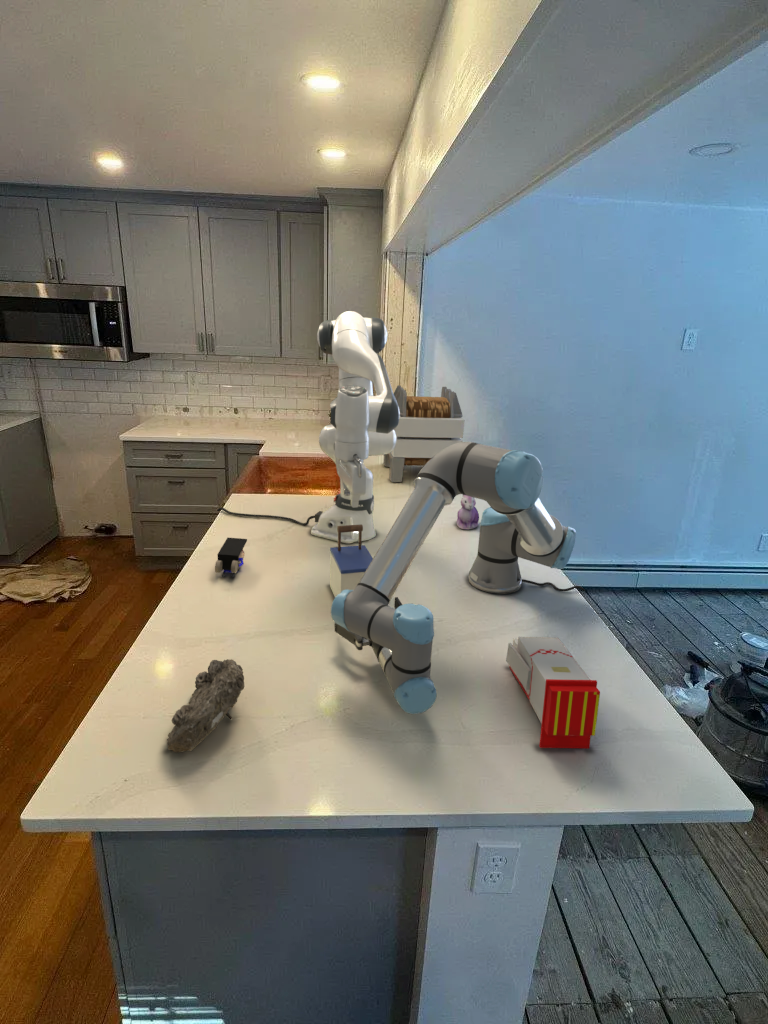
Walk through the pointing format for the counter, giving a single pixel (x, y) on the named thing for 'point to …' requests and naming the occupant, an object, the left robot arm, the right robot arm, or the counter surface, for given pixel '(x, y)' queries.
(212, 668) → the fossil
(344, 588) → the chest
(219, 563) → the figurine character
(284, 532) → the counter surface
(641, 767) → the counter surface
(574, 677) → the toy
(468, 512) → the figurine
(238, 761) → the counter surface
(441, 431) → the transformer
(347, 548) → the lid
